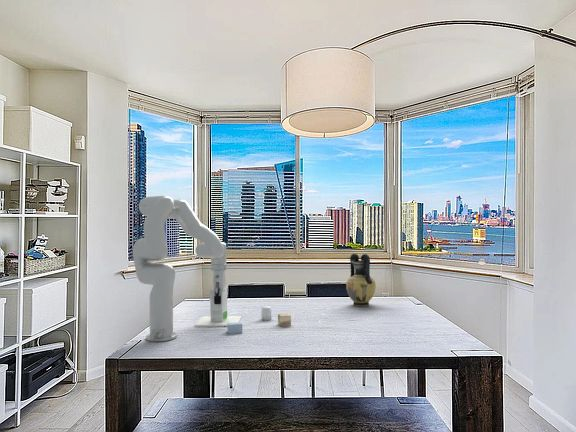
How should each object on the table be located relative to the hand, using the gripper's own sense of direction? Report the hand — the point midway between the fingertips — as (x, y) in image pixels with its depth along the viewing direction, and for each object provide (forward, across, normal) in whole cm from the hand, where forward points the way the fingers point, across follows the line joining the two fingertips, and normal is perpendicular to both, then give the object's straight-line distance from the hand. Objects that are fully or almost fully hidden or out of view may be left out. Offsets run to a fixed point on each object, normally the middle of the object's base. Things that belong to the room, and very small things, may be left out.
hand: (219, 302), depth 217 cm
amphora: (+10, +41, -77) cm, 88 cm away
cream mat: (+10, 0, 0) cm, 10 cm away
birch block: (+10, -8, -32) cm, 34 cm away
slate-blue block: (+10, -21, -10) cm, 25 cm away
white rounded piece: (+10, +5, -23) cm, 25 cm away
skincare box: (+9, 0, 0) cm, 9 cm away
